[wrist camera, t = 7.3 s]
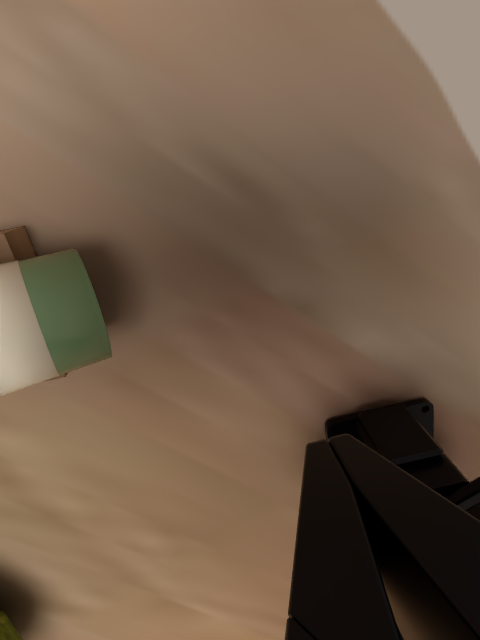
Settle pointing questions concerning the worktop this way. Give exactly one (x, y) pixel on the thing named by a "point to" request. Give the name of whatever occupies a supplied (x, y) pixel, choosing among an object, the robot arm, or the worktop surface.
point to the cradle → (17, 251)
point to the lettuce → (7, 629)
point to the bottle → (48, 320)
